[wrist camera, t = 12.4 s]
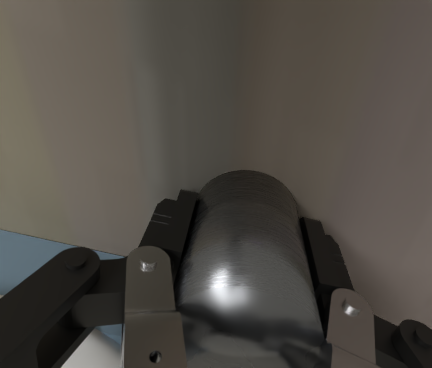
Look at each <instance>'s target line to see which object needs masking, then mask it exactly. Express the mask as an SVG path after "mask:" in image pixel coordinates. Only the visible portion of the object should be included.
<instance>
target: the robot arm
mask: <svg viewBox="0 0 432 368" xmlns="http://www.w3.org/2000/svg"><path fill="white" fill-rule="evenodd" d="M197 196H198V193H194V192H190V191H185V190H180V193H179V196H178V199H177V201H175V200H170V199H164V200H163V201H161V202H160V203H159V204H157V206H156V209H155V211H154V214H153V216H152V218H151V221H150V222H149V225H148V227H147V229H146V231H145V234H144V236H143V238H142V240H141V243H140V245H139V247H138V248H136V249H134V250H133V251H131V252H130V254H129V255H128V256H127V257H124V258H120V259H106V260H100V258H99V256H98V254H97V253H96V252H95V251H93V250H91V249H89V248H85V247H73V248H69V249H66V250H63V251H61V252H60V253H58V254H57V255H56V256H54V257H53V258H52V259H50V260H49V261H48V262H47V263H45V264H44V265H43V266H41V267H40V268H39V269H38V270H36V271H35V272H34V273H32V274H31V275H30V276H29V277H27V278H26V279H25V280H23V281H22V282H21V283H20V284H18V285H17V286H16V287H14V288H13V289H12V290H11V291H9V292H8V293H7V294H5V295H4V296H3V297H1V298H0V368H61V367H62V366H63V364H64V363H65V362H66V361H67V360H68V359H69V357H70V356H71V355H72V354H73V353H74V352H75V350H76V349H77V348H78V347H79V346H80V345H81V343H82V342H83V341H84V340H85V339H86V338H87V336H88V335H89V334H90V333H91V332H92V331H93V329H94V328H95V327H96V326H106V325H116V324H122V331H121V353H120V368H187V360H186V352H185V344H184V336H183V328H182V320H181V314H180V311H179V310H176V308H175V300H174V291H173V285H174V281H175V277H176V274H177V270H178V268H179V266H180V262H181V258H182V254H183V250H184V247H185V243H186V239H187V235H188V231H189V227H190V224H191V220H192V216H193V212H194V208H195V205H196V200H197ZM299 222H300V227H301V232H302V236H303V241H304V246H305V250H306V255H307V259H308V264H309V269H310V273H311V278H312V283H313V287H314V292H315V296H316V301H317V306H318V310H319V315H320V320H321V324H322V329H323V334H324V341H323V342H322V344H321V346H320V352H319V356H318V359H317V362H316V364H315V365H314V367H313V368H432V330H431V329H430V328H429V327H427V326H426V325H424V324H422V323H420V322H418V321H415V320H404V321H402V322H401V323H400V325H399V326H396V325H394V324H392V323H390V322H387V321H385V320H383V319H381V318H379V317H377V316H375V315H374V314H373V310H372V308H371V306H370V304H369V303H368V302H367V301H366V300H365V299H364V298H363V297H362V296H361V295H359V294H358V293H356V292H355V291H354V288H353V286H352V283H351V280H350V277H349V274H348V271H347V269H346V266H345V265H344V260H343V257H341V255H342V254H341V251H340V249H339V246H338V244H337V243H336V242H335V241H334V239H333V238H332V237H331V236H330V235H325V233H324V230H323V227H322V224H321V222H320V221H317V220H313V219H309V218H304V217H302V218H301V219H300V220H299Z"/></svg>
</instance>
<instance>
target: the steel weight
mask: <svg viewBox="0 0 432 368" xmlns="http://www.w3.org/2000/svg"><path fill="white" fill-rule="evenodd" d="M173 291H174V300H175V308H176V310H179V311H180V314H181V320H182V328H183V336H184V344H185V352H186V360H187V368H313V367H314V365H315V364H316V362H317V359H318V356H319V352H320V346H321V344H322V342H323V341H324V334H323V329H322V324H321V320H320V315H319V310H318V306H317V301H316V296H315V292H314V287H313V283H312V278H311V273H310V269H309V264H308V259H307V255H306V250H305V246H304V241H303V236H302V232H301V227H300V222H299V218H298V213H297V208H296V204H295V201H294V198H293V197H292V195H291V193H290V192H289V190H288V189H287V188H286V187H285V186H284V185H283V184H282V183H281V182H279V181H278V180H277V179H275V178H273V177H271V176H269V175H267V174H264V173H261V172H256V171H248V170H241V171H233V172H228V173H225V174H222V175H220V176H218V177H216V178H214V179H213V180H211V181H210V182H209V183H207V184H206V185H205V186H204V187H203V188H202V190H201V191H200V193H199V194H198V197H197V200H196V205H195V208H194V212H193V216H192V220H191V224H190V227H189V231H188V235H187V239H186V243H185V247H184V250H183V254H182V258H181V262H180V266H179V268H178V270H177V274H176V277H175V281H174V285H173Z"/></svg>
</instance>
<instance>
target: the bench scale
mask: <svg viewBox="0 0 432 368" xmlns="http://www.w3.org/2000/svg"><path fill="white" fill-rule="evenodd" d="M73 247H77V246H73V245H68V244H63V243H59V242H54V241H50V240H45V239H41V238H36V237H31V236H27V235H22V234H18V233H13V232H9V231H4V230H0V298H1V297H3V296H4V295H5V294H7V293H8V292H9V291H11V290H12V289H13V288H14V287H16V286H17V285H18V284H20V283H21V282H22V281H23V280H25V279H26V278H27V277H29V276H30V275H31V274H32V273H34V272H35V271H36V270H38V269H39V268H40V267H41V266H43V265H44V264H45V263H47V262H48V261H49V260H50V259H52V258H53V257H54V256H56V255H57V254H58V253H60V252H61V251H63V250H66V249H69V248H73ZM93 251H95V252H96V253H97V254H98V256H99V258H100V260H106V259H120V258H124V257H123V256H118V255H114V254H109V253H105V252H100V251H96V250H93ZM121 331H122V324H116V325H106V326H96V327H95V328H94V329H93V331H92V332H91V333H90V334H89V335H88V336H87V338H86V339H85V340H84V341H83V342H82V343H81V345H80V346H79V347H78V348H77V349H76V350H75V352H74V353H73V354H72V355H71V356H70V357H69V359H68V360H67V361H66V362H65V363H64V364H63V366H62V367H61V368H120V353H121Z"/></svg>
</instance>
